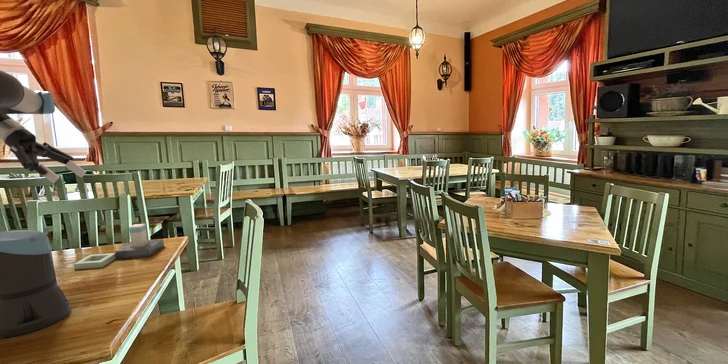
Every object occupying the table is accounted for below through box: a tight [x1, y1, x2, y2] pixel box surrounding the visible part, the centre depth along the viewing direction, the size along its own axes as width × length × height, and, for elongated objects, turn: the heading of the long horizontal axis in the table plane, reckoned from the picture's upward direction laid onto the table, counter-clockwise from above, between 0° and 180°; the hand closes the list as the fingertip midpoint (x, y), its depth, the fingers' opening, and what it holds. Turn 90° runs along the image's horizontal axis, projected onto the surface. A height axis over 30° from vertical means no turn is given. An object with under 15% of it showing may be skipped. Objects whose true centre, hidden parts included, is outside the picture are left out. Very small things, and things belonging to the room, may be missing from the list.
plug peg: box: [128, 223, 149, 248], centre depth 135 cm, size 4×4×11 cm
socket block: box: [114, 238, 165, 260], centre depth 135 cm, size 12×12×3 cm
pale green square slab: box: [73, 252, 117, 270], centre depth 125 cm, size 9×9×2 cm
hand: (70, 177), depth 122 cm, fingers open, 13 cm apart
